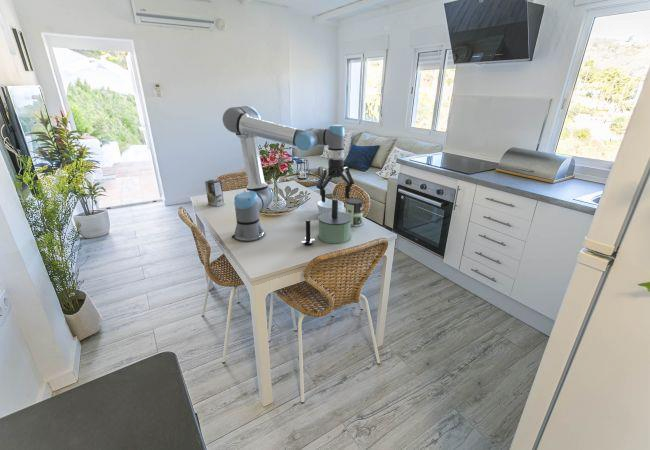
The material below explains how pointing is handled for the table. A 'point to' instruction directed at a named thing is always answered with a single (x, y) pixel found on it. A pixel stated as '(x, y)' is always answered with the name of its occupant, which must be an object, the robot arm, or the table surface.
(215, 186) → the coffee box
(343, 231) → the bowl chamber
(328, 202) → the cereal bowl
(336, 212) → the lid
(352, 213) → the coffee can
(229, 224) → the table surface
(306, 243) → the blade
